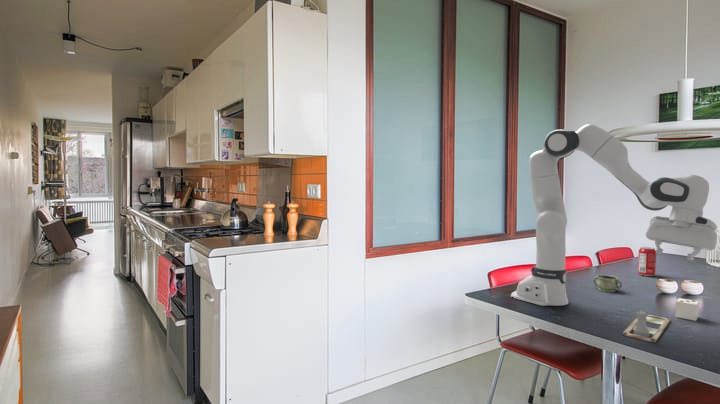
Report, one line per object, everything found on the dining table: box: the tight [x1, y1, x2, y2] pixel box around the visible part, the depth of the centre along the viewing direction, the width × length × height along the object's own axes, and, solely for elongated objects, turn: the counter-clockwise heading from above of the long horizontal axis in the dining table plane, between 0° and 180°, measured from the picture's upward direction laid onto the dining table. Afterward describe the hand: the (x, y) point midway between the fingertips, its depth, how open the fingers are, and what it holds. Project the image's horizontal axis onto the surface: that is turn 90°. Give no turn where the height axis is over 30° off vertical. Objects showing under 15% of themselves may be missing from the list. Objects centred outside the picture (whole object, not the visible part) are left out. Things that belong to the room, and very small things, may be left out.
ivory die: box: [675, 297, 700, 322], centre depth 154 cm, size 6×6×6 cm
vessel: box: [592, 274, 623, 293], centre depth 192 cm, size 12×9×6 cm
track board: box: [622, 314, 671, 343], centre depth 142 cm, size 9×28×1 cm, turn 135°
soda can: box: [637, 246, 657, 277], centre depth 221 cm, size 8×8×15 cm
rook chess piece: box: [632, 310, 650, 338], centre depth 135 cm, size 4×4×8 cm
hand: (673, 256), depth 145 cm, fingers open, 8 cm apart
